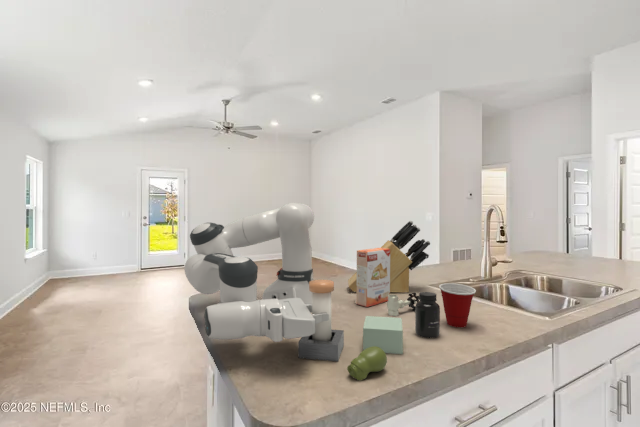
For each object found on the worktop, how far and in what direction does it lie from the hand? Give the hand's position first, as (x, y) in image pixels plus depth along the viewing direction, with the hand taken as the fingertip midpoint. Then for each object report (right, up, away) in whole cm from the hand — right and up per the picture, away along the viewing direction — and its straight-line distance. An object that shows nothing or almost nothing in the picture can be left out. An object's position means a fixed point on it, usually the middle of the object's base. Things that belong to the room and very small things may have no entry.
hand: (325, 312), depth 89 cm
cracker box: (+20, -9, +44) cm, 49 cm away
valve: (+28, -10, +31) cm, 43 cm away
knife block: (+29, -9, +63) cm, 70 cm away
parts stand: (+16, -10, +4) cm, 19 cm away
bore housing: (-1, -10, 0) cm, 10 cm away
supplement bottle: (+30, -10, +11) cm, 34 cm away
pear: (+9, -11, -12) cm, 18 cm away
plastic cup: (+42, -10, +19) cm, 47 cm away
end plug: (-1, -10, 0) cm, 10 cm away
